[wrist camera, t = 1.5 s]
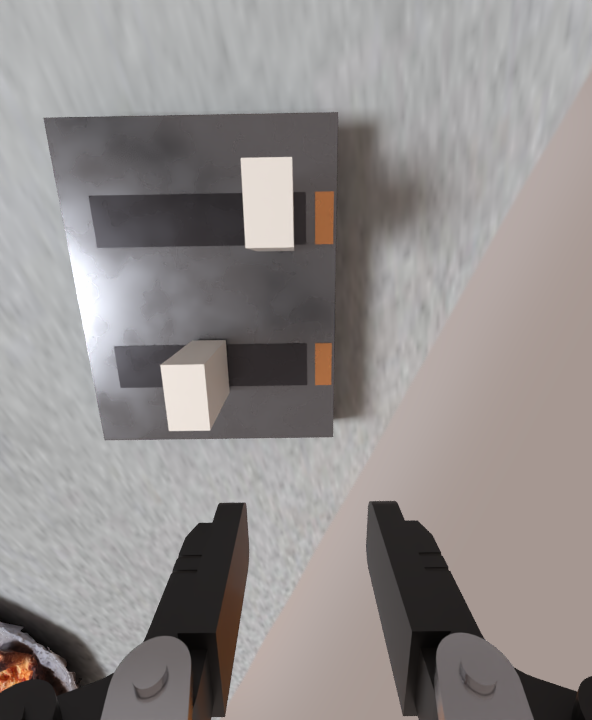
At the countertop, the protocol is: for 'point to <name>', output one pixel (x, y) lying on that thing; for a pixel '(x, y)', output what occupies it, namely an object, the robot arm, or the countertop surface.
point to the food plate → (31, 662)
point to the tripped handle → (195, 385)
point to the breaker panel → (200, 266)
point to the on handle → (268, 203)
